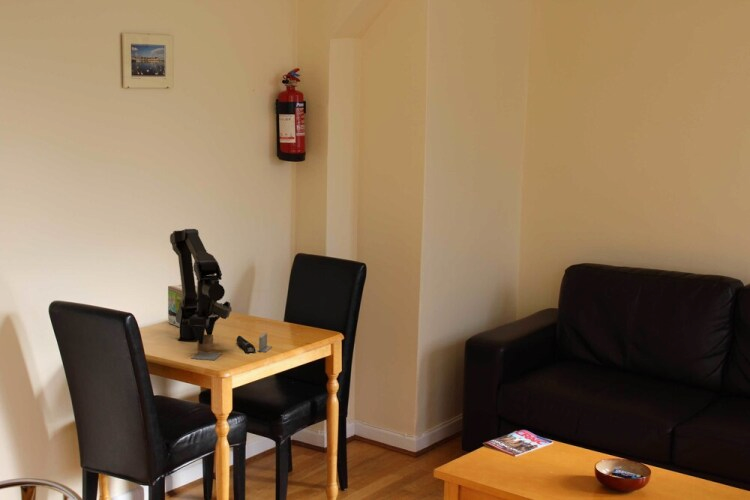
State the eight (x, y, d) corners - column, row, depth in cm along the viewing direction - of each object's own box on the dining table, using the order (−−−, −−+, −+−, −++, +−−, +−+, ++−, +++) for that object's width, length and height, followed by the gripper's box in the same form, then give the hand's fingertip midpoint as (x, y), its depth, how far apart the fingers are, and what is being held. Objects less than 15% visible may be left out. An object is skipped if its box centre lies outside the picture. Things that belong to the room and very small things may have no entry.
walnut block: (197, 351, 314) (197, 336, 313) (201, 348, 318) (201, 334, 317) (209, 352, 313) (209, 337, 313) (212, 349, 317) (213, 335, 316)
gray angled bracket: (257, 351, 316) (258, 337, 315) (263, 346, 323) (263, 332, 322) (266, 352, 315) (266, 338, 315) (271, 347, 322) (271, 333, 321)
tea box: (166, 323, 352) (167, 285, 350) (190, 320, 359) (190, 282, 357) (187, 331, 341) (188, 291, 339) (211, 327, 348) (211, 289, 346)
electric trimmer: (244, 343, 328) (244, 334, 328) (256, 353, 314) (256, 344, 314) (234, 344, 327) (234, 335, 326) (245, 354, 313) (245, 345, 312)
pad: (190, 358, 304) (190, 357, 304) (198, 352, 312) (198, 351, 312) (214, 360, 303) (214, 359, 303) (221, 354, 311) (221, 353, 311)
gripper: (220, 302, 303) (220, 348, 305) (236, 291, 321) (236, 335, 323) (187, 300, 304) (187, 346, 306) (205, 289, 322) (205, 333, 325)
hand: (205, 340), depth 315 cm, fingers open, 9 cm apart
